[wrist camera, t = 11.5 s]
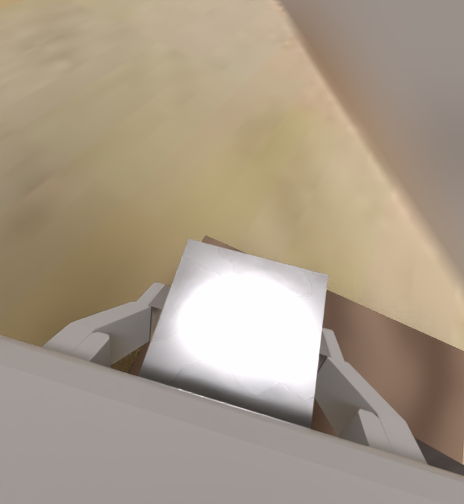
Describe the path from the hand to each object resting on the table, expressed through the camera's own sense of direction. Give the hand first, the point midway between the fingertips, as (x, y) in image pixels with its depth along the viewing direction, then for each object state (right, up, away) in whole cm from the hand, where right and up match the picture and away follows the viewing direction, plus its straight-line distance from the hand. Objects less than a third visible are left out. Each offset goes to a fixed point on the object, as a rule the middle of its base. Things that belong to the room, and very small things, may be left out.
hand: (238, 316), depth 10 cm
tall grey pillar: (0, -2, +4) cm, 4 cm away
